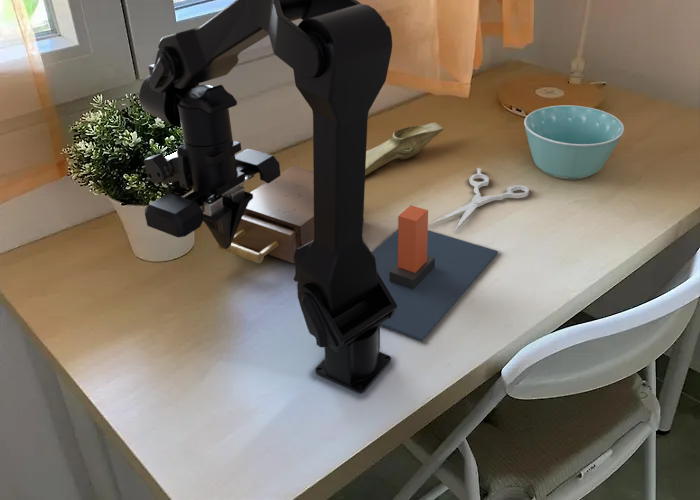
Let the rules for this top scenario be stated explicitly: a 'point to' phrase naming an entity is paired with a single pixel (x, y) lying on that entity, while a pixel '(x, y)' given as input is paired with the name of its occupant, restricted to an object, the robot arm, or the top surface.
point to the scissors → (484, 197)
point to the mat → (431, 281)
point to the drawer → (264, 239)
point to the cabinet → (288, 201)
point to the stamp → (412, 248)
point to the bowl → (571, 139)
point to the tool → (401, 145)
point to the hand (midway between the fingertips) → (225, 247)
